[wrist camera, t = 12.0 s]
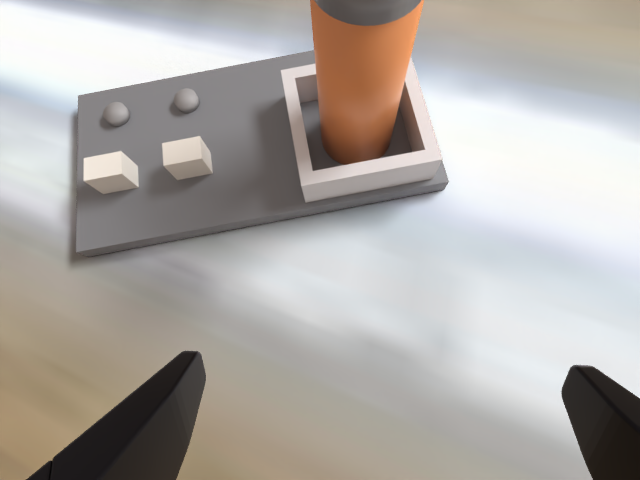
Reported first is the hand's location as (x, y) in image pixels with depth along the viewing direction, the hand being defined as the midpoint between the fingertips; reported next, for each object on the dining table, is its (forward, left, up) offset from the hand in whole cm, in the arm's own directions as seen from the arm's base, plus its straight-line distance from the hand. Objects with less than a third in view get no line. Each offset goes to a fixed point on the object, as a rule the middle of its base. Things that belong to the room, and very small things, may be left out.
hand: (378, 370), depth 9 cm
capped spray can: (+3, +14, -12) cm, 19 cm away
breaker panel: (-4, +16, -14) cm, 21 cm away
